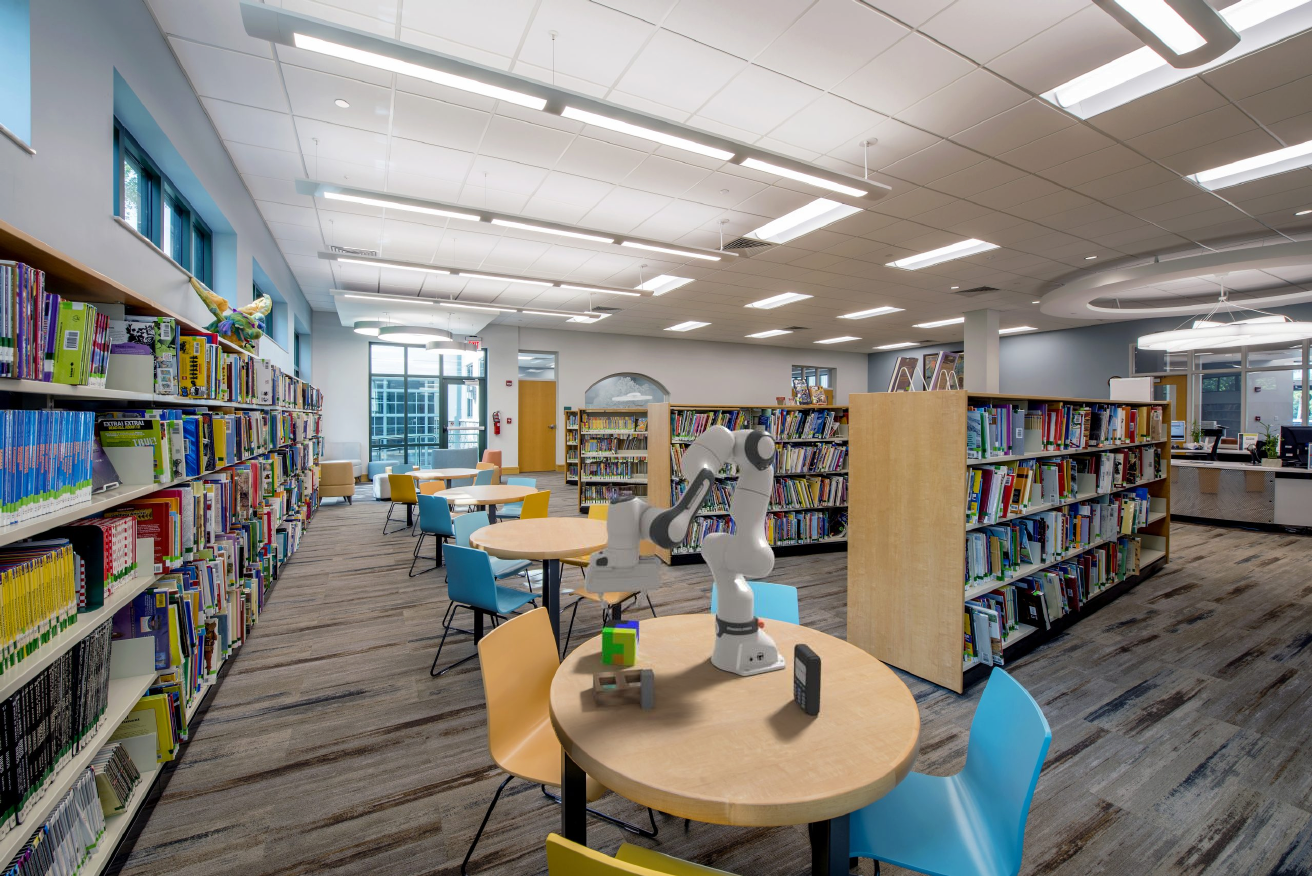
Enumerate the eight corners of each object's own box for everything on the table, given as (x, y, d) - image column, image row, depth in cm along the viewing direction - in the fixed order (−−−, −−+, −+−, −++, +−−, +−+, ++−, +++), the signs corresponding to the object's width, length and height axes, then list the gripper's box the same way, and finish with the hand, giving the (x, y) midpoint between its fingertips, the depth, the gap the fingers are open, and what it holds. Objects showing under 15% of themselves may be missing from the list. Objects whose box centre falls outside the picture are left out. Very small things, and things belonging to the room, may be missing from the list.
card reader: (790, 697, 143) (792, 643, 142) (804, 696, 144) (806, 642, 143) (806, 716, 134) (807, 658, 133) (821, 715, 135) (822, 657, 134)
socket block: (642, 683, 150) (642, 668, 150) (649, 701, 140) (649, 686, 140) (593, 687, 147) (593, 672, 147) (596, 706, 137) (596, 690, 137)
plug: (651, 702, 140) (652, 668, 139) (653, 708, 137) (654, 674, 136) (640, 703, 139) (640, 669, 139) (642, 709, 136) (642, 675, 136)
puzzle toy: (638, 651, 170) (639, 620, 170) (634, 666, 160) (634, 633, 160) (608, 649, 171) (608, 619, 171) (601, 664, 161) (602, 631, 161)
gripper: (658, 551, 147) (657, 601, 148) (584, 554, 143) (583, 605, 144) (663, 557, 141) (662, 609, 142) (585, 560, 137) (585, 613, 138)
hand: (622, 607), depth 143 cm, fingers open, 8 cm apart
